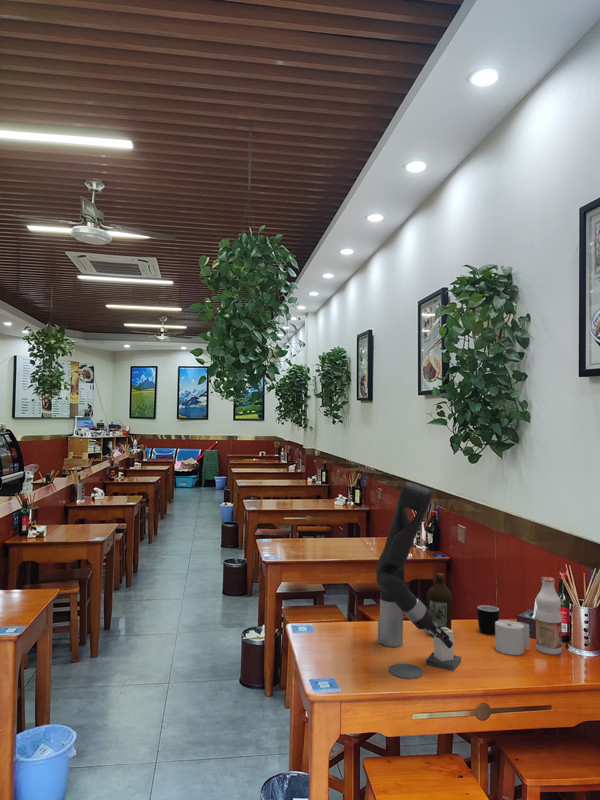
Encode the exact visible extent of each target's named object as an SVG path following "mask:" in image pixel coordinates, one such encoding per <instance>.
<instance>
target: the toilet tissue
mask: <svg viewBox="0 0 600 800" xmlns="http://www.w3.org/2000/svg"><path fill="white" fill-rule="evenodd" d="M494 635H495V637H494V640H495V641H494V646H495V647H494V649H495V650H496V651H497V652H499V653H501V654H505V655H509V656H521V655H523V654H525V649H528V650H529V649H530V624H529V623H525V622H521V621H514V620H508V619H506V620H505V619H504V620H502V619H501V620H500V619H499V621H496V622H495V634H494Z"/></svg>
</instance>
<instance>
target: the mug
mask: <svg viewBox="0 0 600 800" xmlns="http://www.w3.org/2000/svg"><path fill="white" fill-rule="evenodd" d="M476 611H477V612H476V613H477V623H478V628H479V631H480V633H481V634H484V635H488V634H490V635H492V634H494V635H495V622H496V621H499V620H500V609H499V608H498V607H496V606H493V605H485V604H484V605H478V606H477V610H476ZM490 635H489V636H490ZM492 636H493V635H492Z"/></svg>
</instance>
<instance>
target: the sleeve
mask: <svg viewBox="0 0 600 800" xmlns="http://www.w3.org/2000/svg"><path fill="white" fill-rule="evenodd" d="M441 629H442V630H443V631H444V632H445V633H446V634H447V635H448V636H449V637H450V638H449V640H450V641H451V642H452V643H453V646H452V647H451V648H448V647H447V646H446V645H445V644H444V643H443V642H442V641H441V640H440V639H439V638H436V637H435V636H434V638H433V652H434V657H436V658H437V659H439V660H441V661H448V660H453V657H454V655H455V654H454V652H455V651H454V649H455V648H454V647H455V646H454V640H455V639H454V637H455V636H454V633H455V632H454V631H453V630H452V629H451V630H450V629H448V628H446V627H443V628H441ZM435 635H437V634H435ZM443 637H444V636H443Z"/></svg>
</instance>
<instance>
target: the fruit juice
mask: <svg viewBox="0 0 600 800" xmlns="http://www.w3.org/2000/svg"><path fill="white" fill-rule="evenodd" d="M555 583H556V579H555V578H553V577H550V576H542V577H541V584H542V585H541V587H540V591H539V592H538V594H537V595H536V598H535V602H536V606H537V608H536V610H535V646H536V647H535V648H536V650H538V652H539V653H540V652H541V653H543V654H547V655H560V654H562V652H563V629H562V628H563V624H562V623H563V622H562V621H563V619H562V617H563V616H562V612H561V606H562V600H561V598H560V596H559V595H558V593H557V591H556V589H555V588H556V587H555Z"/></svg>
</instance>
